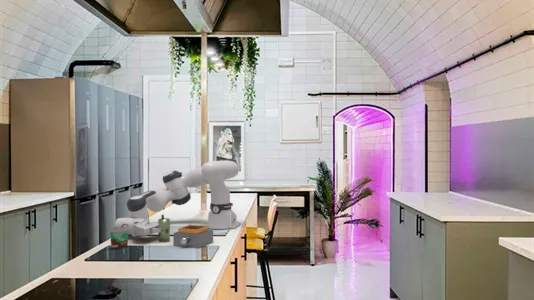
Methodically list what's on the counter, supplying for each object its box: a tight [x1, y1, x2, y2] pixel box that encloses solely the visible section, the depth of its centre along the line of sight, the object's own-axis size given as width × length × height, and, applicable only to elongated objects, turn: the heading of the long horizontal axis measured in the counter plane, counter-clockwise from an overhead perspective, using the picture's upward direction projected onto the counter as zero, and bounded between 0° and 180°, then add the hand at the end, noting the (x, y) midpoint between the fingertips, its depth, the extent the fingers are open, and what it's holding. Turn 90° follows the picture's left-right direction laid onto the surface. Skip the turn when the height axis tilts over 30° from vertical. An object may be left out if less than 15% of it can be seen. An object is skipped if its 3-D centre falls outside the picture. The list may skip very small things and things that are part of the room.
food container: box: [109, 224, 130, 250], centre depth 213 cm, size 12×6×10 cm, turn 168°
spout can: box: [157, 214, 171, 243], centre depth 226 cm, size 6×6×13 cm
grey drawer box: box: [172, 224, 214, 249], centre depth 218 cm, size 17×14×8 cm
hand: (165, 229), depth 226 cm, fingers closed on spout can, 6 cm apart
